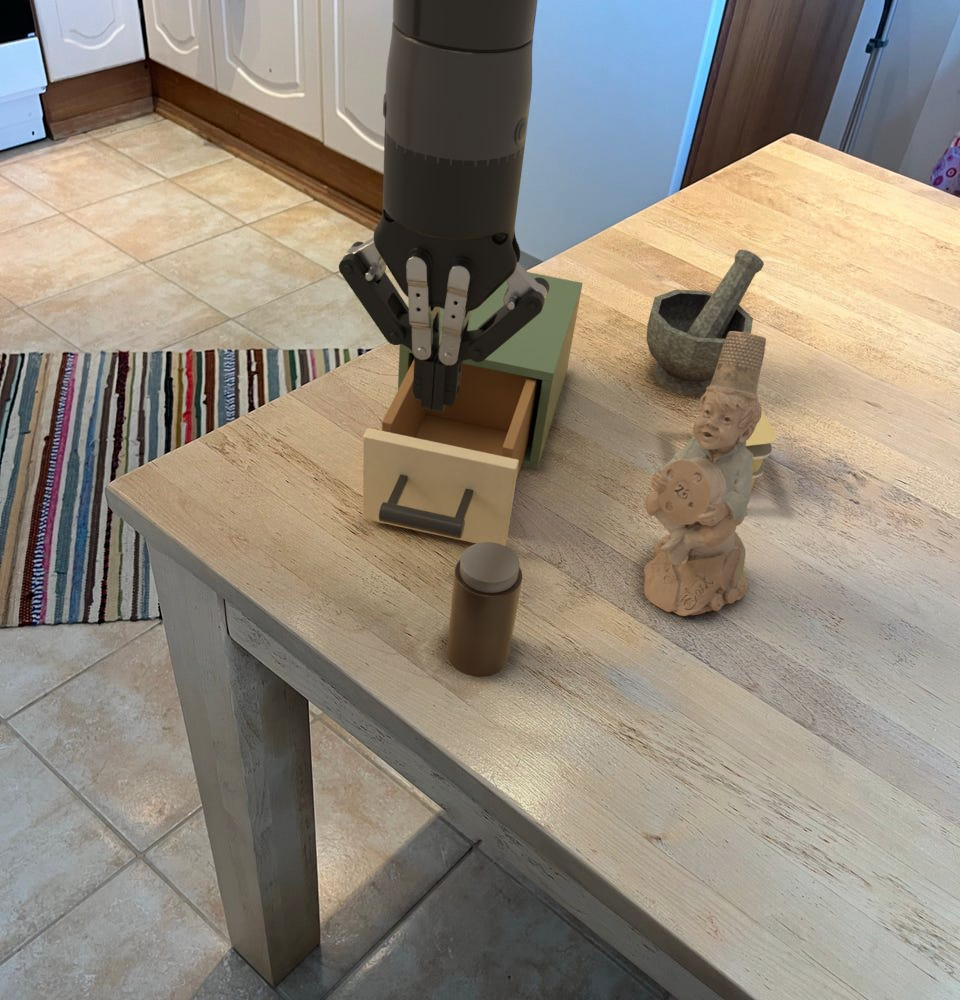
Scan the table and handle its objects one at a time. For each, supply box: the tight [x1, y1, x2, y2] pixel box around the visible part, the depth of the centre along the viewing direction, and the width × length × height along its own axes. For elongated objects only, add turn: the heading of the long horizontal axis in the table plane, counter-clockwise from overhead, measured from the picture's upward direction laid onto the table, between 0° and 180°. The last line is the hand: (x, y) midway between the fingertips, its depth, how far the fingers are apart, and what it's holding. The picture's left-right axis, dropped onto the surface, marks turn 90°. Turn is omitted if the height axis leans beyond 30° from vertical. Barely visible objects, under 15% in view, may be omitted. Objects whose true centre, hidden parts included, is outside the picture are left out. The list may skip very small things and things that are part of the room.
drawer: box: [361, 360, 539, 546], centre depth 76 cm, size 19×11×8 cm, turn 167°
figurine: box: [643, 331, 767, 617], centre depth 69 cm, size 9×8×20 cm
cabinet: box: [397, 271, 583, 470], centre depth 86 cm, size 16×13×10 cm
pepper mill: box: [446, 542, 523, 678], centre depth 66 cm, size 4×4×9 cm
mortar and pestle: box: [645, 249, 765, 397], centre depth 92 cm, size 11×9×12 cm
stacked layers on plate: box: [745, 409, 777, 490], centre depth 84 cm, size 10×9×6 cm
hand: (435, 403), depth 65 cm, fingers closed
